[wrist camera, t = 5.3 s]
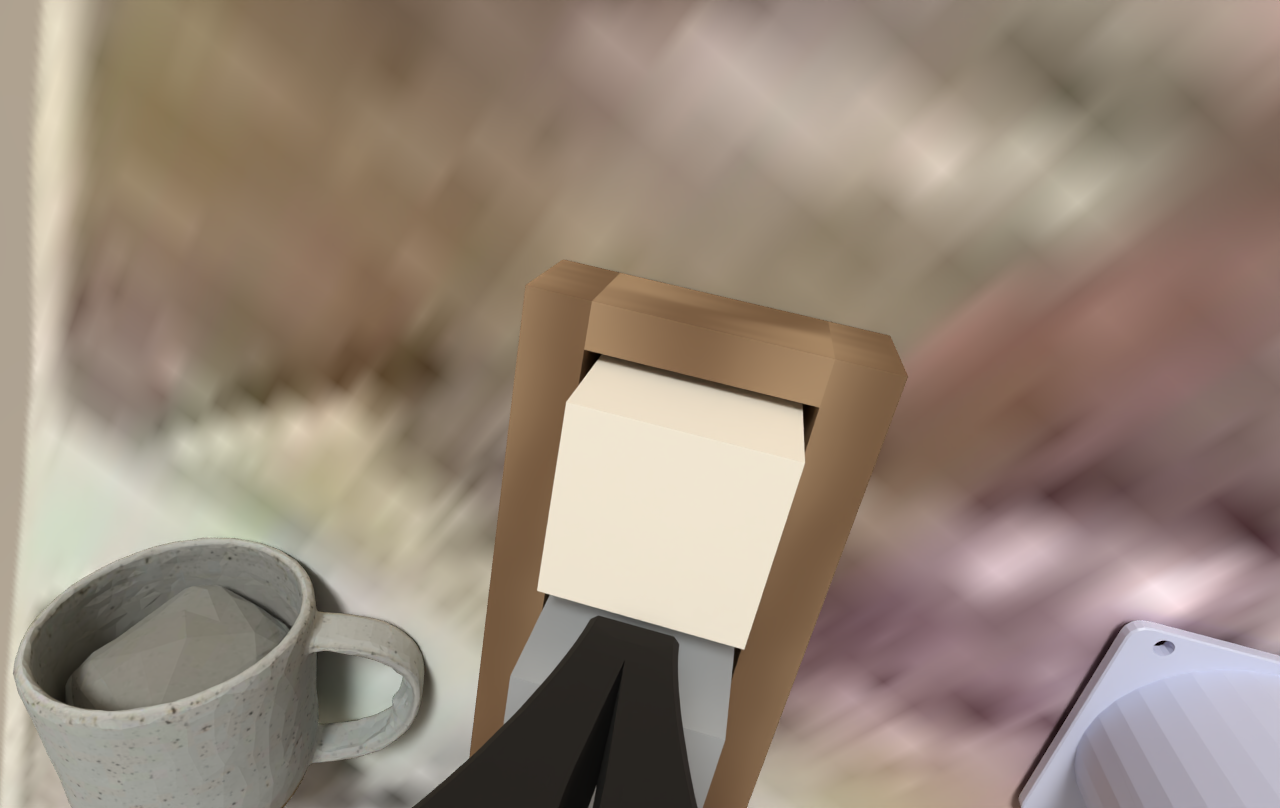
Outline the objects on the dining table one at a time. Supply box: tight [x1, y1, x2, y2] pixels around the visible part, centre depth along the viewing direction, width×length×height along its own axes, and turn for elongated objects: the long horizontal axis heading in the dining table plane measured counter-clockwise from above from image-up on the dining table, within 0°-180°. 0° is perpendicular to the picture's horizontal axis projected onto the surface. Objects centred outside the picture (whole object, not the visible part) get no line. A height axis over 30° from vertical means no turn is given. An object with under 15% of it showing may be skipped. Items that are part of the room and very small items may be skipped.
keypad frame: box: [469, 260, 908, 808], centre depth 23 cm, size 9×27×3 cm, turn 169°
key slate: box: [503, 595, 735, 808], centre depth 19 cm, size 5×5×4 cm
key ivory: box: [537, 354, 805, 650], centre depth 17 cm, size 5×5×4 cm
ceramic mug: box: [13, 538, 424, 808], centre depth 23 cm, size 11×8×8 cm
